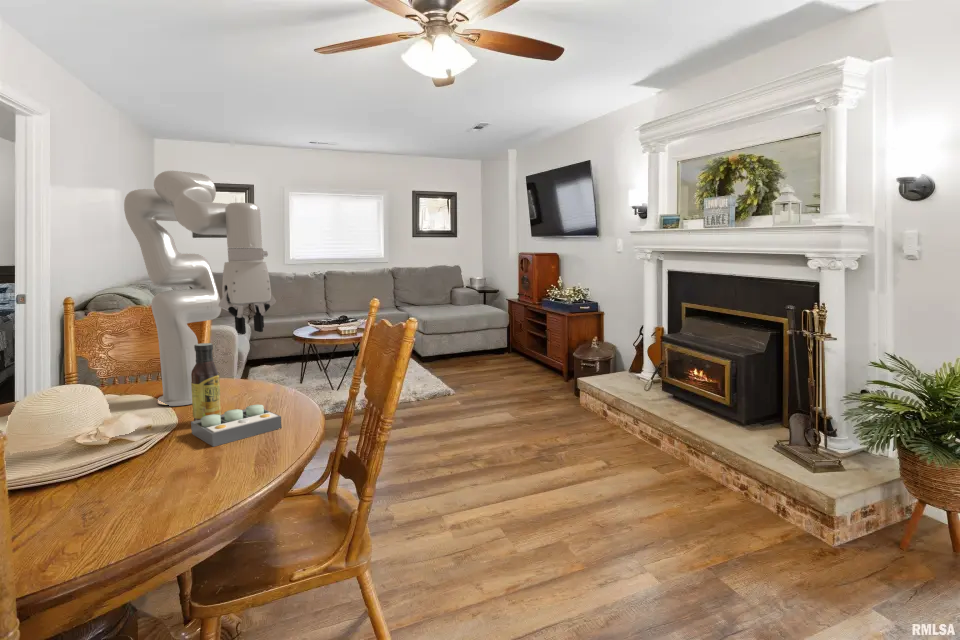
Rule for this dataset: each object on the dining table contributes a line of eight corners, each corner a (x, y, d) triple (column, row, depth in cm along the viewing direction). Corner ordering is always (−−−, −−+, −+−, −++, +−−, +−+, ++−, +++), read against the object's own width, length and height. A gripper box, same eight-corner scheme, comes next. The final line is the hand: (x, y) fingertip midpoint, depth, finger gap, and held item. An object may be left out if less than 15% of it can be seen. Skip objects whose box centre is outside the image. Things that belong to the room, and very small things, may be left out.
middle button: (222, 424, 126) (221, 412, 126) (238, 420, 129) (238, 408, 129) (229, 428, 124) (228, 415, 123) (246, 423, 127) (245, 411, 126)
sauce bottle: (209, 427, 128) (204, 347, 126) (187, 425, 130) (181, 346, 127) (227, 418, 135) (222, 342, 132) (206, 417, 136) (200, 341, 133)
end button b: (243, 418, 130) (243, 407, 130) (259, 415, 133) (258, 403, 133) (251, 422, 128) (250, 410, 127) (267, 418, 131) (266, 406, 130)
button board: (191, 434, 124) (190, 420, 123) (258, 417, 136) (257, 405, 135) (213, 446, 116) (212, 432, 115) (281, 428, 128) (280, 414, 127)
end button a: (199, 429, 122) (198, 417, 122) (217, 425, 125) (216, 413, 125) (206, 433, 120) (205, 421, 119) (224, 429, 123) (223, 416, 122)
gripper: (271, 255, 133) (275, 327, 136) (202, 256, 121) (208, 335, 124) (286, 255, 129) (290, 330, 131) (216, 256, 116) (221, 338, 119)
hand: (250, 331), depth 127 cm, fingers open, 3 cm apart
